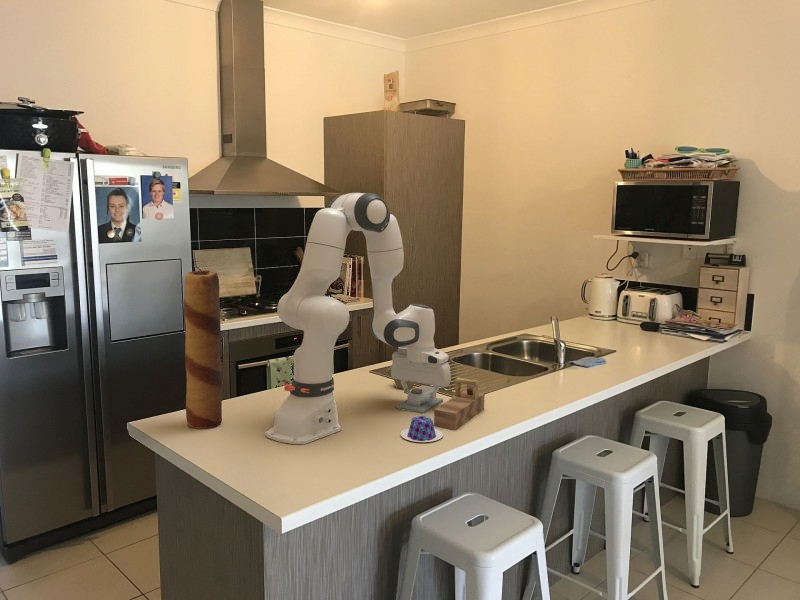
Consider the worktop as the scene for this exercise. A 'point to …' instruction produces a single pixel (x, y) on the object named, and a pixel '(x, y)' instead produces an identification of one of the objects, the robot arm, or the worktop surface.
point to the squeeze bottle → (398, 382)
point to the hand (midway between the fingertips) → (419, 395)
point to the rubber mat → (419, 409)
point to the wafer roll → (203, 349)
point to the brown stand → (460, 406)
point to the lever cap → (420, 396)
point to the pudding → (421, 430)
